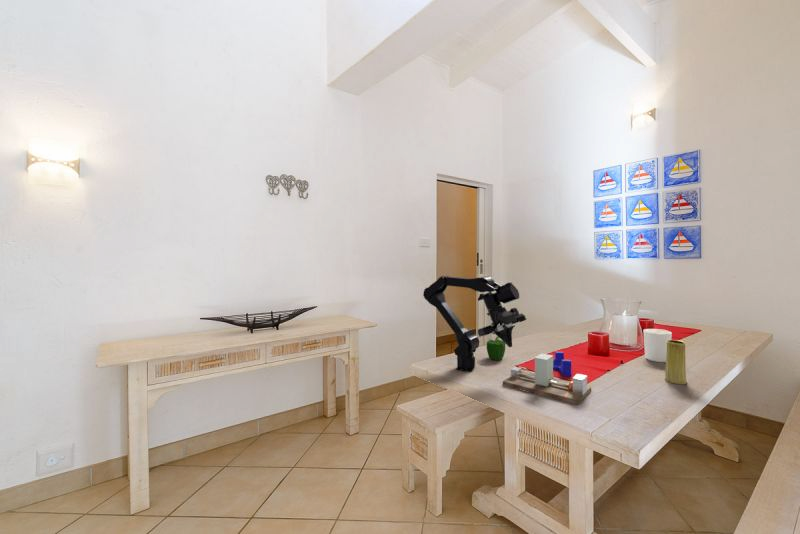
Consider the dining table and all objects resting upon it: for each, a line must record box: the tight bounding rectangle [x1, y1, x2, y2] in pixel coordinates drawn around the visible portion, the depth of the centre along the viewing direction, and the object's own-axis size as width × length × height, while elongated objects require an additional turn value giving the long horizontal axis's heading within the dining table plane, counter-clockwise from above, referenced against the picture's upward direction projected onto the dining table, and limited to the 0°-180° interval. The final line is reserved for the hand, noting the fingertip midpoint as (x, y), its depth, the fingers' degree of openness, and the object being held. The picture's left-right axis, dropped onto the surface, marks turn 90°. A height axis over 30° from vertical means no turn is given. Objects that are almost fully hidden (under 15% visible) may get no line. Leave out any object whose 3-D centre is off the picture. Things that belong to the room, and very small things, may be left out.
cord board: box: [502, 370, 592, 406], centre depth 121 cm, size 25×14×2 cm, turn 47°
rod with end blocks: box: [510, 366, 588, 396], centre depth 121 cm, size 24×5×6 cm, turn 47°
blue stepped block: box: [553, 351, 572, 377], centre depth 137 cm, size 12×4×6 cm, turn 169°
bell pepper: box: [486, 335, 506, 361], centre depth 155 cm, size 8×8×10 cm
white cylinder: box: [642, 328, 673, 363], centre depth 148 cm, size 10×10×12 cm
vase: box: [664, 339, 687, 385], centre depth 123 cm, size 6×6×14 cm
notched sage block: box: [534, 353, 554, 386], centre depth 121 cm, size 4×6×9 cm, turn 137°
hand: (510, 346), depth 130 cm, fingers closed
